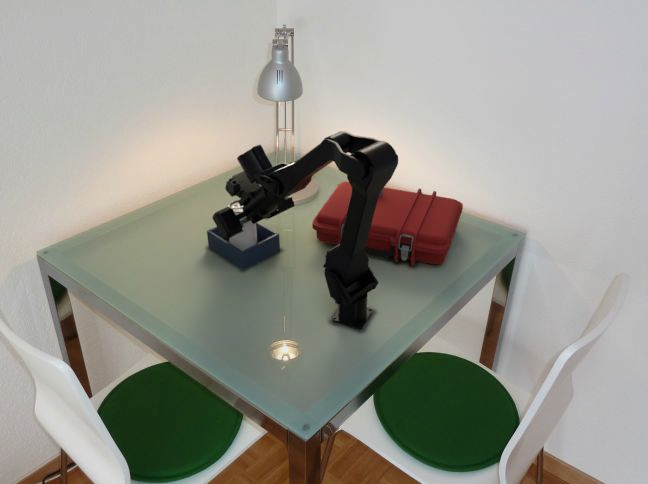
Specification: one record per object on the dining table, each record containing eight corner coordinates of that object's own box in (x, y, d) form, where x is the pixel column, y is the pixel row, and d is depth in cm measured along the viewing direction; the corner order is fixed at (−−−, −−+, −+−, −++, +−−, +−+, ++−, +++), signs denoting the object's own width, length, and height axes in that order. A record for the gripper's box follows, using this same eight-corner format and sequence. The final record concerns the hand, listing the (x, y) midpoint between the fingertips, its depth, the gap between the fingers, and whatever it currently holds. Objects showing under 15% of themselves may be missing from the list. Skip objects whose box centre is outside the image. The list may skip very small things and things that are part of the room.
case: (280, 250, 150) (279, 233, 147) (243, 270, 143) (241, 253, 141) (244, 229, 158) (243, 213, 155) (208, 247, 152) (206, 230, 149)
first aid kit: (461, 223, 159) (465, 193, 154) (443, 275, 140) (447, 242, 136) (341, 202, 169) (341, 173, 164) (309, 247, 151) (309, 217, 146)
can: (256, 256, 148) (253, 212, 141) (229, 256, 148) (224, 213, 142) (258, 241, 153) (255, 198, 147) (232, 241, 153) (227, 198, 147)
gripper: (280, 153, 141) (252, 180, 154) (213, 181, 130) (188, 208, 143) (305, 195, 140) (274, 220, 153) (240, 227, 130) (212, 250, 142)
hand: (238, 223), depth 148 cm, fingers closed on can, 6 cm apart
